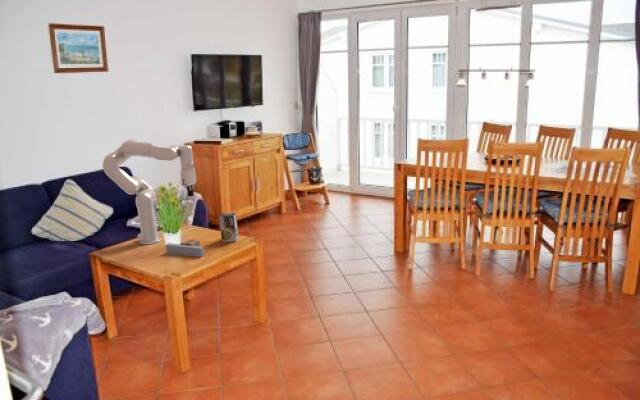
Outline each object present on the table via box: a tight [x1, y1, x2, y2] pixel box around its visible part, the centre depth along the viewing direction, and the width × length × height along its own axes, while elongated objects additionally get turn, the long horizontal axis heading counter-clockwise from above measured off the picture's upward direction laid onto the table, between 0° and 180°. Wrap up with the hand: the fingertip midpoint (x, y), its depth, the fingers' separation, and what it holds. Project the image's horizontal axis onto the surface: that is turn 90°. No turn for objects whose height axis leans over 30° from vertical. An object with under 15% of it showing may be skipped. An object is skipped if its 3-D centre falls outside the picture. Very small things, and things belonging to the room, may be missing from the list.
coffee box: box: [218, 212, 240, 243], centre depth 325 cm, size 9×6×16 cm
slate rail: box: [165, 242, 205, 258], centre depth 306 cm, size 24×3×5 cm, turn 67°
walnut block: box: [179, 238, 201, 246], centre depth 310 cm, size 8×7×6 cm
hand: (190, 195), depth 326 cm, fingers closed
